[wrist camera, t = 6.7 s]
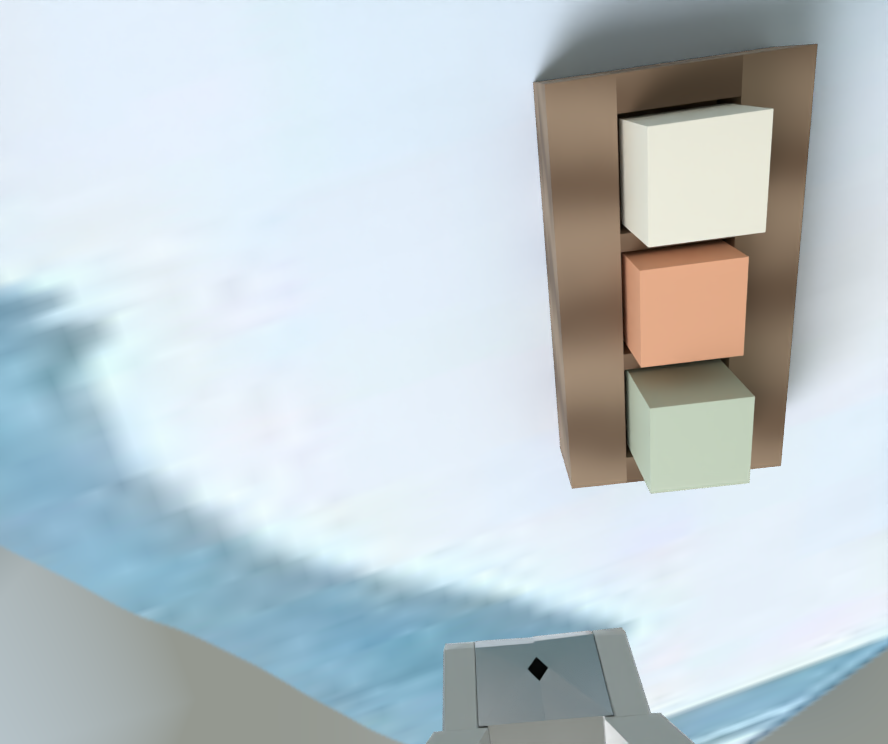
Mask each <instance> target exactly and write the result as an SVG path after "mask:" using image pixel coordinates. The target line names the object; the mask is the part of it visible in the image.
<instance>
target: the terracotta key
mask: <svg viewBox="0 0 888 744" xmlns="http://www.w3.org/2000/svg"><path fill="white" fill-rule="evenodd" d="M748 264H749V256H747V255H745V254H744V253H742V252H741V251H739V250H737V249H736V248H734V247H733V246H731V245H729V244H728V243H726V242H725V241H723V240H721V239H718V240H710V241H703V242H695V243H688V244H680V245H672V246H665V247H657V248H649V249H642V250H634V251H626V252H621V281H622V318H623V340H624V342H625V343H626V345H627V346H628V348H629V350H630V351H631V353H632V354H633V356H634V357H635V359H636V360H637V362H638V364H639V365H640V367H641V368H642V367H651V366H659V365H667V364H676V363H684V362H693V361H701V360H709V359H718V358H726V357H734V356H743V355H744V337H745V319H746V301H747V283H748Z"/></svg>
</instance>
